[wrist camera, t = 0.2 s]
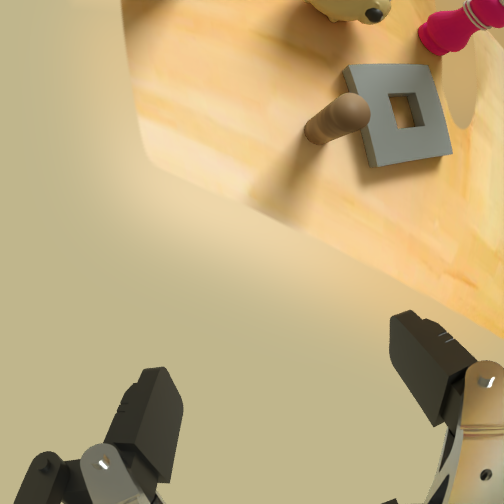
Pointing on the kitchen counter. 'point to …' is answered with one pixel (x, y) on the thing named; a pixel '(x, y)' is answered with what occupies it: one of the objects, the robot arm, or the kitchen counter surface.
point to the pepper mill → (460, 25)
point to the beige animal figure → (353, 10)
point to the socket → (382, 117)
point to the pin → (338, 119)
